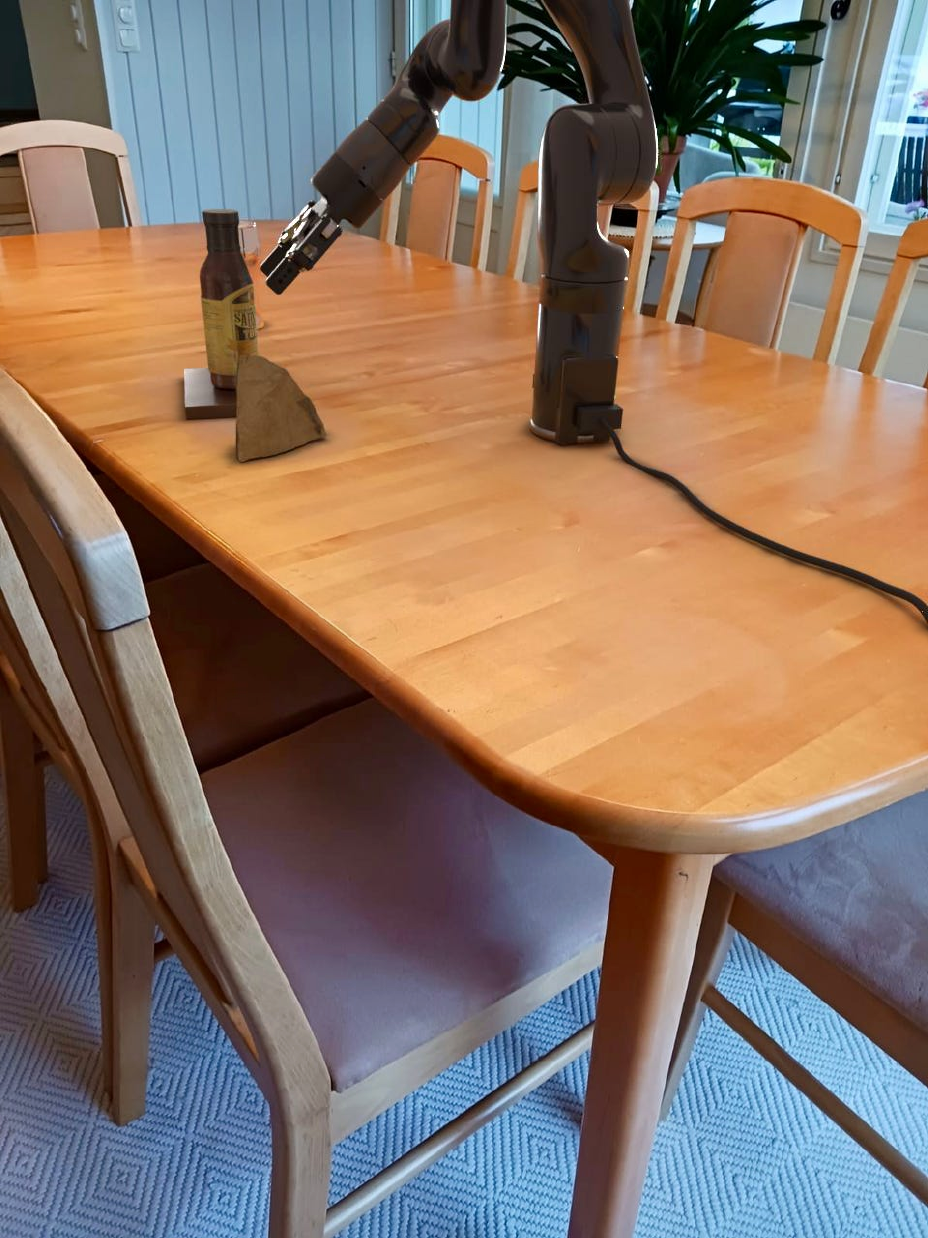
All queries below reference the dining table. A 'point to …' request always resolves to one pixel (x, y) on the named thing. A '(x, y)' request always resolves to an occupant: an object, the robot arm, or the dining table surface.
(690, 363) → the dining table surface
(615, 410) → the robot arm
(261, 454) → the rock
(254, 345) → the sauce bottle
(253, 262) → the beer glass
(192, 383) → the metal block
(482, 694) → the dining table surface
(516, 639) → the dining table surface
